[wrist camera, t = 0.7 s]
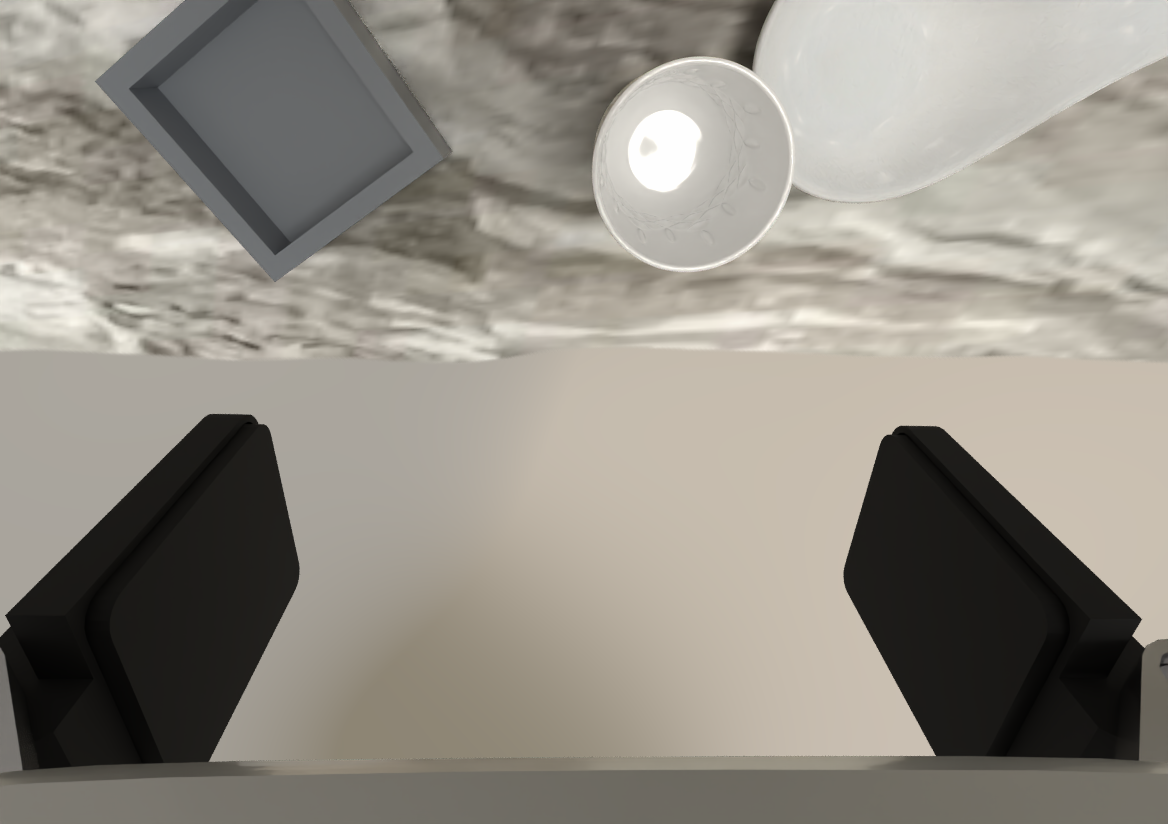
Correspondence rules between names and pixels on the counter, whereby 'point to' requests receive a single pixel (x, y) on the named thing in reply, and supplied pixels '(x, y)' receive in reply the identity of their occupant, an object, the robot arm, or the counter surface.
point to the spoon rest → (937, 80)
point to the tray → (276, 118)
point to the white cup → (693, 163)
